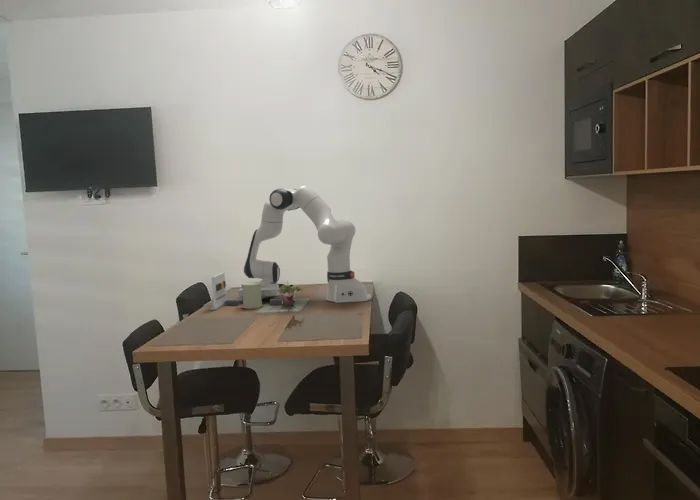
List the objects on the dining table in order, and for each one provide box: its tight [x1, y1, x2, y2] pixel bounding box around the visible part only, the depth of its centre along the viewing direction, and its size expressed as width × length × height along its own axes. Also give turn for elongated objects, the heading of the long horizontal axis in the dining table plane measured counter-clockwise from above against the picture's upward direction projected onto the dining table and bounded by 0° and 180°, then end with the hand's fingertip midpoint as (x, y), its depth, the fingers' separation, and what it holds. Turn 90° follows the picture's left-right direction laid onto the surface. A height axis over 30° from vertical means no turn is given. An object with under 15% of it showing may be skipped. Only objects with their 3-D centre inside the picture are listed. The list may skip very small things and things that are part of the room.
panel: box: [209, 272, 227, 311], centre depth 286 cm, size 4×14×16 cm, turn 172°
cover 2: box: [269, 298, 284, 306], centre depth 286 cm, size 6×3×3 cm, turn 82°
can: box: [241, 281, 263, 310], centre depth 283 cm, size 9×9×12 cm
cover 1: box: [224, 299, 242, 307], centre depth 290 cm, size 7×3×3 cm, turn 82°
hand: (254, 294), depth 287 cm, fingers closed, pressing on can
